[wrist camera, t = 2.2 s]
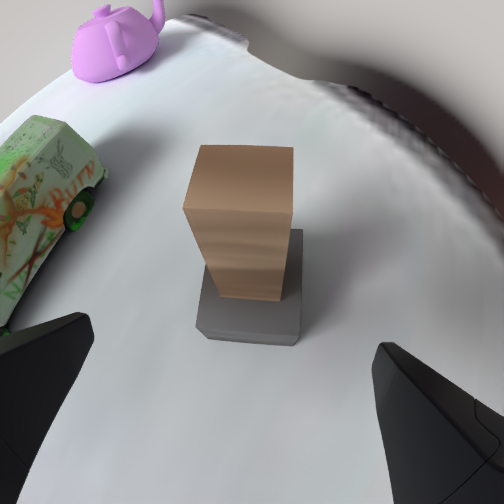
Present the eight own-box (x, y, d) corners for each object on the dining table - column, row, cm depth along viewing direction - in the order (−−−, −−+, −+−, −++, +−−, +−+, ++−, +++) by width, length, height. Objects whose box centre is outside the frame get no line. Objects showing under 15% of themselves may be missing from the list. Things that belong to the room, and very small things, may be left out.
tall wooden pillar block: (293, 346, 19) (334, 276, 8) (208, 338, 20) (132, 261, 8) (297, 256, 23) (322, 118, 11) (220, 251, 23) (183, 116, 12)
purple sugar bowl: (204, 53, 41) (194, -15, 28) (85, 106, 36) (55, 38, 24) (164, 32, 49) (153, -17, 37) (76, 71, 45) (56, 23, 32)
